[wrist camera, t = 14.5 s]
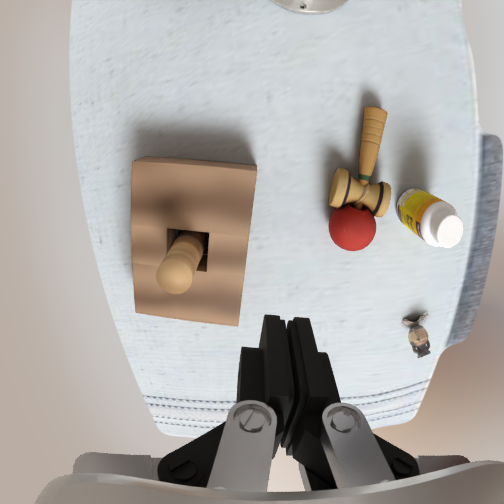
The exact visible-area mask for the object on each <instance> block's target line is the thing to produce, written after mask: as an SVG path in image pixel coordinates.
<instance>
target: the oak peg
mask: <svg viewBox="0 0 504 504" xmlns="http://www.w3.org/2000/svg"><path fill="white" fill-rule="evenodd" d="M205 245H206V239H205V233H204V232H199V231H190V230H183V231H181V233H180V234H179V236H178V237H177V238H176V239H175V240H174V242H173V244H172V247H171V248H170V250H169V251H168V253H167V255H166V256H165V258H164V259H163V261H162V263H161V264H160V266H159V268H158V269H157V272H156V279H157V282H158V284H159V285H160V287H161V288H162V289H163V290H165V291H166V292H169V293H171V294H181V293H184V292H185V291H187V290H188V289H189V287H190V286H191V283H192V280H193V278H194V275H195V272H196V269H197V267H198V264H199V261H200V260H201V258H202V256H203V250H204V248H205Z"/></svg>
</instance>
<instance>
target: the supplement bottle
mask: <svg viewBox="0 0 504 504" xmlns="http://www.w3.org/2000/svg"><path fill="white" fill-rule="evenodd" d="M397 215H398V218H399V219H400V221H401V222H402V223H403V224H404V225H405V226H406V227H408V228H409V229H410V230H412V231H413V232H414V233H415V234H417V235H418V236H419V237H420V238H422V239H423V240H424V241H425V242H427V243H428V244H430V245H432V246H443V247H445V248H449V247H452V246H454V245H456V244H457V243H458V242H459V240H460V239H461V236H462V233H463V223H462V220H461V219H460V218H459V217H458V216H457V213H456V210H455V209H454V207H453V206H452V205H450V204H449V203H447V202H445V201H443V200H441V199H439V198H437V197H435V196H433V195H431V194H429V193H427V192H425V191H423V190H421V189H416V188H413V189H409V190H407V191H406V192H404V193H403V194H402V195H401V197H400V198H399V201H398V204H397Z"/></svg>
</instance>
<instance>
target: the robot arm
mask: <svg viewBox="0 0 504 504" xmlns="http://www.w3.org/2000/svg"><path fill="white" fill-rule="evenodd" d="M271 1H273V2H274V3H275V4H277V5H279V6H281V7H283V8H285V9H288V10H290V11H293V12H297V13H302V14H313V15H314V14H324V13H328V12H332V11H334V10H336V9H339V8H340V7H341V6H343V5H344V4H345V3H346V2H347V1H348V0H271ZM300 7H303V8H304V9H302V8H300ZM279 444H281V447H282V448H286V455H293V458H294V459H295V460H297V461H298V462H299V470H300V474H301V477H302V481H303V484H304V488H305V491H304V492H303V491H302V492H267V486H268V480H269V473H270V467H271V461H272V459H273V458H274V457H275V454H276V452H277V449H278V446H279ZM35 504H504V462H500V461H489V460H486V461H475V462H470V461H469V460H468V459H467V458H465V457H464V456H460V455H448V456H418V457H417V458H414V457H412V456H411V455H410V454H408V453H406V452H405V451H403V450H401V449H399V448H398V447H396V446H394V445H392V444H391V443H389V442H387V441H385V440H384V439H382V438H380V437H379V436H377V435H375V434H373V432H372V430H371V428H370V426H369V424H368V422H367V420H366V418H365V416H364V415H363V413H362V412H361V411H360V410H359V409H358V408H357V407H355V406H353V405H351V404H347V403H341V401H340V397H339V393H338V389H337V386H336V382H335V378H334V375H333V371H332V367H331V364H330V360H329V357H328V354H327V353H326V352H318V350H317V346H316V342H315V338H314V334H313V331H312V327H311V323H310V319H309V318H300V317H294V319H293V321H291V320H289V321H288V324H287V328H286V324H285V320H280V316H277V315H266V314H265V316H264V320H263V326H262V332H261V338H260V343H259V348H250V347H242V348H241V355H240V362H239V372H238V384H237V402H236V404H235V405H234V406H233V407H232V408H231V409H230V411H229V413H228V416H227V420H226V421H225V422H224V423H222V424H221V425H219V426H217V427H216V428H214V429H212V430H210V431H209V432H207V433H205V434H204V435H202V436H200V437H198V438H197V439H195V440H193V441H191V442H190V443H188V444H186V445H184V446H182V447H181V448H179V449H177V450H175V451H173V452H171V453H169V454H168V455H166V456H165V457H163V458H151V456H150V455H124V454H108V453H97V452H90V453H85V454H82V455H80V456H79V457H78V458H77V459H76V460H75V464H74V466H73V474H70V475H64V476H61V477H58V478H56V479H54V480H52V481H51V482H50V483H48V484H47V485H46V487H45V488H44V489H43V490H42V492H41V493H40V495H39V496H38V498H37V500H36V502H35Z"/></svg>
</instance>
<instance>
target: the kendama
mask: <svg viewBox="0 0 504 504" xmlns="http://www.w3.org/2000/svg"><path fill="white" fill-rule="evenodd" d="M386 118H387V112H386V111H385V110H383V109H381V108H378V107H372V106H368V107H365V108H364V121H363V131H362V133H363V134H362V142H361V148H360V158H359V176H358V181H356V180H355V179H354V178H353V177H352V176H351V175H350V173H349V172H348V170H346V169H342V168H338V169H337V170H336V172H335V175H334V179H333V182H332V186H331V190H330V196H329V204H330V206H333V207H336V208H337V209H336V210H335V211H334V212H333V213H332V215H331V217H330V220H329V233H330V236H331V238H332V240H333V241H334V243H335V244H336V245H338V246H339V247H341V248H342V249H345V250H348V251H357V250H361V249H363V248H365V247H366V246H368V245H369V244H370V243H371V241H372V240H373V238H374V236H375V232H376V222H375V219H374V216H376V217H382V216H383V215H384V214H385V213H386V211H387V209H388V206H389V203H390V198H391V187H390V185H389V184H388V183H385V182H380V183H378V184H375V185H370V184H369V180H370V177H371V175H372V172H373V169H374V166H375V163H376V159H377V156H378V152H379V148H380V146H379V145H380V143H381V138H382V135H383V130H384V124H385V122H386Z"/></svg>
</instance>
